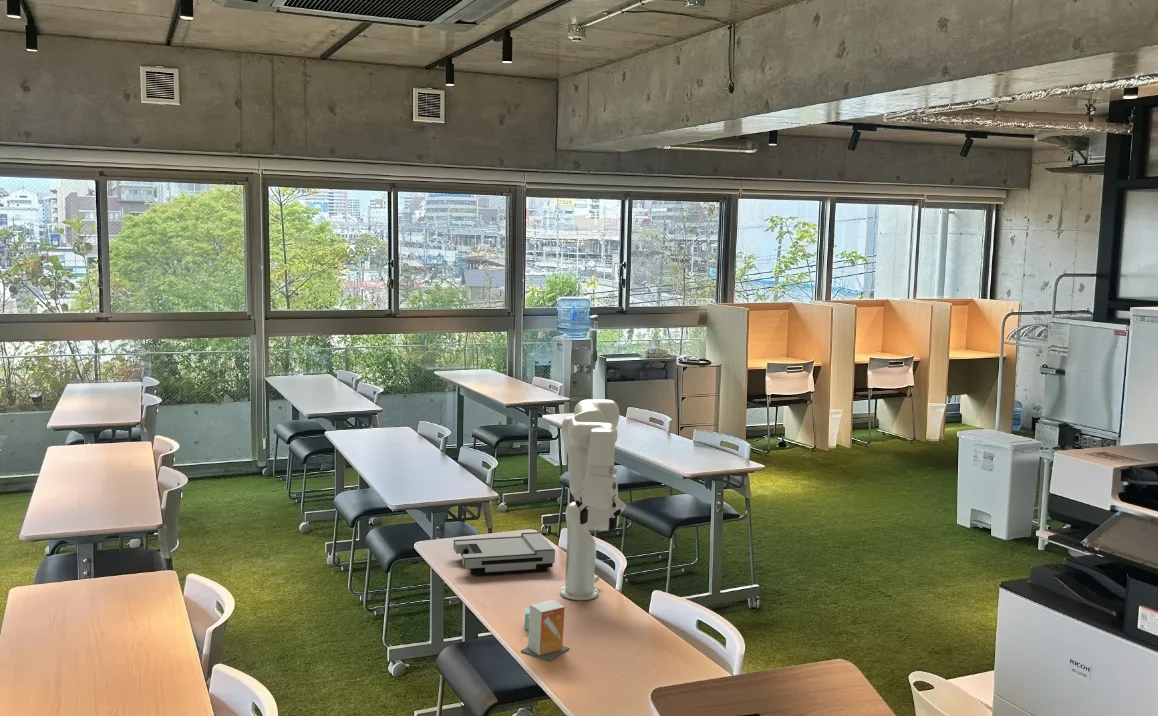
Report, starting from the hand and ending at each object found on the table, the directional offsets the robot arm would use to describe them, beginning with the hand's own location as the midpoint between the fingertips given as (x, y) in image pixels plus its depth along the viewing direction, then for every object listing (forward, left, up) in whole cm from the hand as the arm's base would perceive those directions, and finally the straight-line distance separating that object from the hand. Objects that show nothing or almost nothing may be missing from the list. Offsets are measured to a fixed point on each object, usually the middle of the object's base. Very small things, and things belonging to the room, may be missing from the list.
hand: (597, 526), depth 283 cm
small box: (+18, -5, -33) cm, 38 cm away
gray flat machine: (-32, -56, -34) cm, 73 cm away
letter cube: (+6, -17, -33) cm, 38 cm away
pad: (+18, -5, -33) cm, 38 cm away
